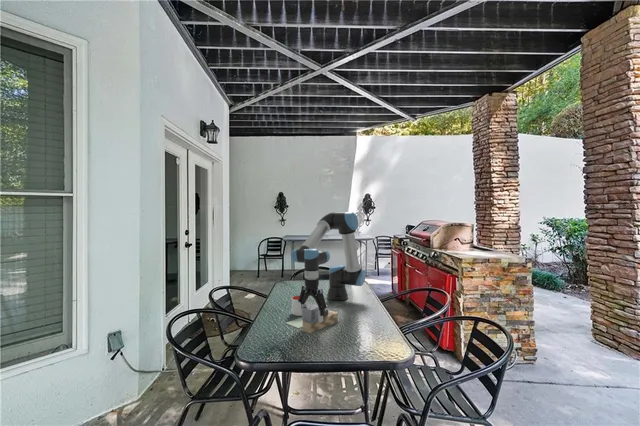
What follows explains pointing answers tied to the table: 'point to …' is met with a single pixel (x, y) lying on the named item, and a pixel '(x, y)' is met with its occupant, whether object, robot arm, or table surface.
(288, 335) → the table surface
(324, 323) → the long wooden block
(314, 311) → the gray cube on plate
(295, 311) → the cup
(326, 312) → the latch
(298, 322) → the mat
